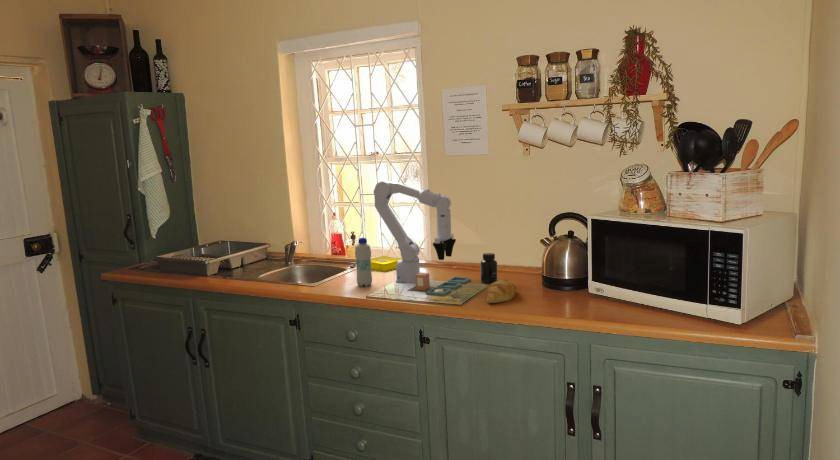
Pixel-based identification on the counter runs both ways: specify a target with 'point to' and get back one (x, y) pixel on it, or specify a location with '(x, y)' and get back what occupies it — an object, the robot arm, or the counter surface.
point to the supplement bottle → (488, 268)
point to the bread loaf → (500, 291)
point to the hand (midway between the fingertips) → (445, 258)
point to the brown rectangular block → (422, 281)
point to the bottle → (363, 263)
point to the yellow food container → (384, 263)
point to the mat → (420, 290)
